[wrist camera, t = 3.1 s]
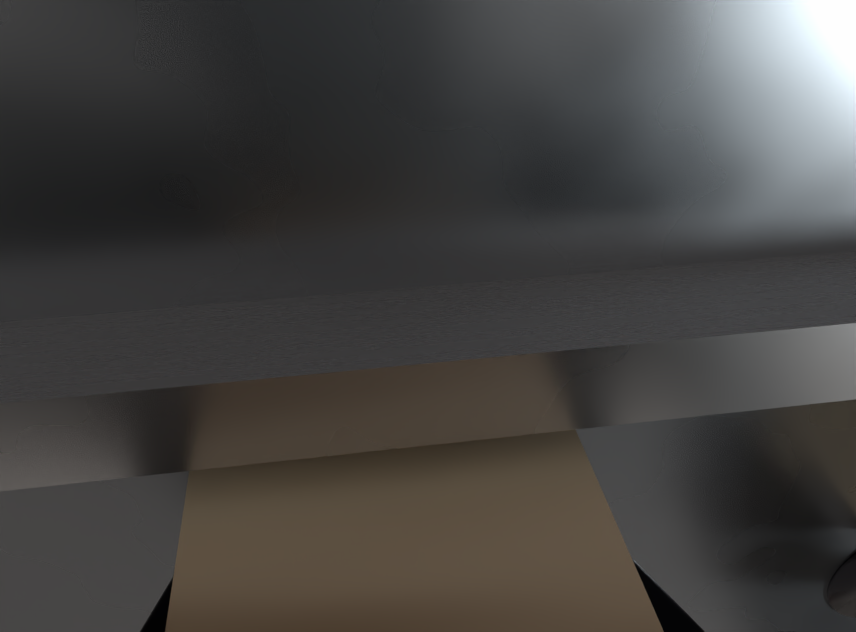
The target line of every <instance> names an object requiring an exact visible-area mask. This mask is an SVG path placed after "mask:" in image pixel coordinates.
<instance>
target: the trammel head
mask: <svg viewBox="0 0 856 632" xmlns="http://www.w3.org/2000/svg"><path fill="white" fill-rule="evenodd" d="M165 632H664V631H663V629H662V626H661V624H660V622H659V620H658V617H657V615H656V613H655V610H654V608H653V606H652V604H651V601H650V599H649V597H648V594H647V592H646V590H645V588H644V585H643V583H642V581H641V578H640V576H639V574H638V572H637V569H636V567H635V565H634V562H633V560H632V558H631V555H630V553H629V551H628V549H627V546H626V544H625V542H624V539H623V537H622V535H621V533H620V530H619V528H618V526H617V523H616V521H615V519H614V517H613V514H612V512H611V510H610V507H609V505H608V503H607V501H606V498H605V496H604V494H603V491H602V489H601V487H600V485H599V482H598V480H597V478H596V475H595V473H594V471H593V468H592V466H591V464H590V462H589V459H588V457H587V455H586V452H585V450H584V448H583V446H582V443H581V441H580V439H579V436H578V434H577V432H576V430H566V431H557V432H547V433H538V434H529V435H519V436H510V437H501V438H492V439H482V440H473V441H464V442H454V443H445V444H436V445H426V446H417V447H408V448H398V449H389V450H380V451H371V452H361V453H352V454H343V455H333V456H324V457H315V458H305V459H296V460H287V461H278V462H268V463H259V464H250V465H240V466H231V467H222V468H212V469H203V470H194V471H189V476H188V483H187V489H186V496H185V503H184V509H183V516H182V523H181V529H180V536H179V543H178V549H177V556H176V563H175V569H174V576H173V582H172V589H171V596H170V602H169V609H168V616H167V622H166V629H165Z"/></svg>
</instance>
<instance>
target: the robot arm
mask: <svg viewBox="0 0 856 632" xmlns="http://www.w3.org/2000/svg"><path fill="white" fill-rule="evenodd" d="M631 558H632V557H631ZM632 560H633V559H632ZM633 562H634V565H635V567H636V569H637V572H638V574H639V576H640V578H641V581H642V583H643V585H644V588H645V590H646V592H647V594H648V597H649V599H650V601H651V604H652V606H653V608H654V610H655V613H656V615H657V617H658V620H659V622H660V624H661V626H662V629H663V631H664V632H705V631H704V630H703V629H702V628H701V627H700V626H699V625H698V624H697V623H696V622H695V621H694V620H693V619H692V618H691V617H690V616H689V615H688V614H687V613H686V612H685V611H684V610H683V609H682V608H681V607H680V606H679V605H678V604H677V603H676V602H675V601H674V600H673V599H672V598H671V597H670V596H669V595H668V594H667V593H666V592H665V591H664V590H663V589H662V588H661V587H660V586H659V585H658V584H657V583H656V582H655V581H654V580H653V579H652V578H651V577H650V576H649V575H648V574H647V573H646V572H645V571H644V570H643V569H642V568H641V567H640V566H639V565H638V564H637V563H636V562H635V561H634V560H633ZM172 582H173V577H172V579H171V581H170V582H169V584H168V586H167V587H166V589H165V591H164V592H163V594H162V596H161V597H160V599H159V601H158V602H157V604H156V606H155V607H154V609H153V611H152V612H151V614H150V616H149V617H148V619H147V621H146V622H145V624H144V626H143V627H142V629H141V631H140V632H165V629H166V622H167V616H168V609H169V602H170V596H171V589H172Z"/></svg>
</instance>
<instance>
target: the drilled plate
mask: <svg viewBox="0 0 856 632" xmlns="http://www.w3.org/2000/svg"><path fill="white" fill-rule="evenodd" d="M566 430H576V432H577V434H578V436H579V439H580V441H581V443H582V446H583V448H584V450H585V452H586V455H587V457H588V459H589V462H590V464H591V466H592V468H593V471H594V473H595V475H596V478H597V480H598V482H599V485H600V487H601V489H602V491H603V494H604V496H605V498H606V501H607V503H608V505H609V507H610V510H611V512H612V514H613V517H614V519H615V521H616V523H617V526H618V528H619V530H620V533H621V535H622V537H623V539H624V542H625V544H626V546H627V549H628V551H629V553H630V555H631V557H632V559H633V560H634V561H635V562H636V563H637V564H638V565H639V566H640V567H641V568H642V569H643V570H644V571H645V572H646V573H647V574H648V575H649V576H650V577H651V578H652V579H653V580H654V581H655V582H656V583H657V584H658V585H659V586H660V587H661V588H662V589H663V590H664V591H665V592H666V593H667V594H668V595H669V596H670V597H671V598H672V599H673V600H674V601H675V602H676V603H677V604H678V605H679V606H680V607H681V608H682V609H683V610H684V611H685V612H686V613H687V614H688V615H689V616H690V617H691V618H692V619H693V620H694V621H695V622H696V623H697V624H698V625H699V626H700V627H701V628H702V629H703V630H704V631H705V632H856V0H0V632H140V631H141V629H142V627H143V626H144V624H145V622H146V621H147V619H148V617H149V616H150V614H151V612H152V611H153V609H154V607H155V606H156V604H157V602H158V601H159V599H160V597H161V596H162V594H163V592H164V591H165V589H166V587H167V586H168V584H169V582H170V581H171V579H172V577H173V576H174V569H175V563H176V556H177V549H178V543H179V536H180V529H181V523H182V516H183V509H184V503H185V496H186V489H187V483H188V476H189V471H194V470H203V469H212V468H222V467H231V466H240V465H250V464H259V463H268V462H278V461H287V460H296V459H305V458H315V457H324V456H333V455H343V454H352V453H361V452H371V451H380V450H389V449H398V448H408V447H417V446H426V445H436V444H445V443H454V442H464V441H473V440H482V439H492V438H501V437H510V436H519V435H529V434H538V433H547V432H557V431H566Z"/></svg>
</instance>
